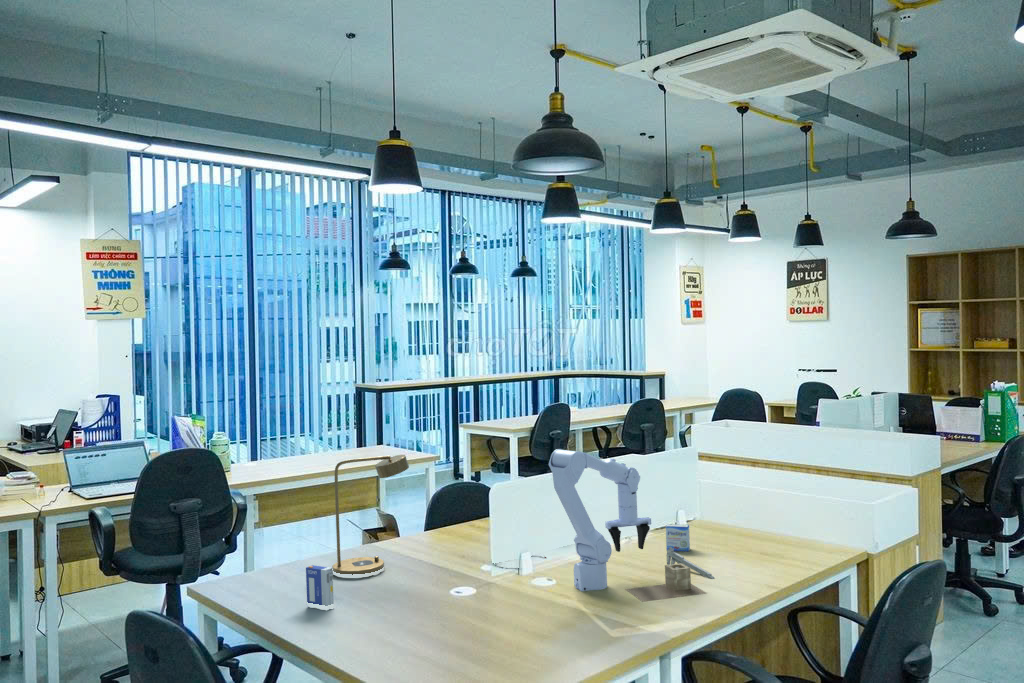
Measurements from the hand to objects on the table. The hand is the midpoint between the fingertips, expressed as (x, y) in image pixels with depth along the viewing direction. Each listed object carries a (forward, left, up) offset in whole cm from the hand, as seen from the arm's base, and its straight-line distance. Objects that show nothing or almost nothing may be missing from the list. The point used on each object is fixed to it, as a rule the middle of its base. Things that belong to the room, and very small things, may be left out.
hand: (629, 549), depth 239 cm
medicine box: (+30, +27, -10) cm, 42 cm away
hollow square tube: (+8, -16, -8) cm, 20 cm away
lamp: (-75, +44, -10) cm, 87 cm away
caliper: (+21, +2, -10) cm, 23 cm away
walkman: (-93, +9, -10) cm, 94 cm away
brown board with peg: (+3, -18, -9) cm, 21 cm away
